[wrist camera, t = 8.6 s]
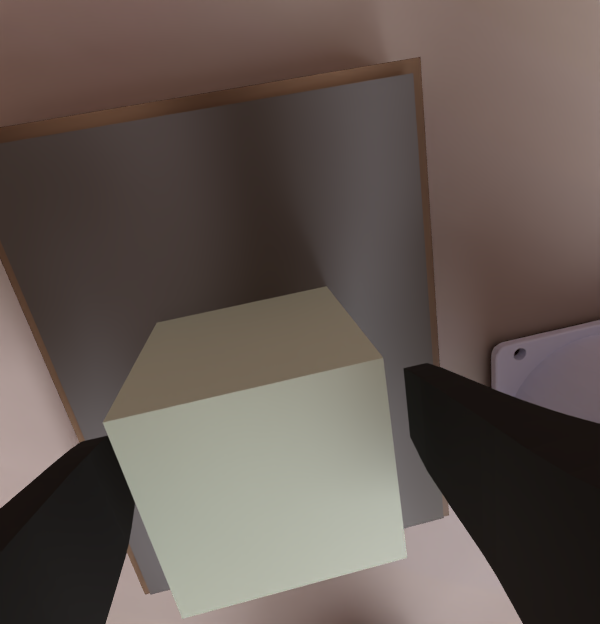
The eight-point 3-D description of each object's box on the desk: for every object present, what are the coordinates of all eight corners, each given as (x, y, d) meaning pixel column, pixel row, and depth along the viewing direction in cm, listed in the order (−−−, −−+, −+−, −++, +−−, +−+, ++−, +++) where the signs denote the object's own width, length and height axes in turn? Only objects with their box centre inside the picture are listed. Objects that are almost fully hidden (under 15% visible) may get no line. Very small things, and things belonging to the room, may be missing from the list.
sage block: (326, 286, 12) (383, 357, 7) (349, 426, 14) (407, 557, 9) (156, 322, 12) (102, 422, 7) (201, 462, 13) (182, 618, 9)
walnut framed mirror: (392, 75, 13) (426, 52, 10) (426, 478, 18) (453, 523, 16) (-5, 142, 12) (-64, 134, 10) (155, 546, 17) (142, 605, 15)
